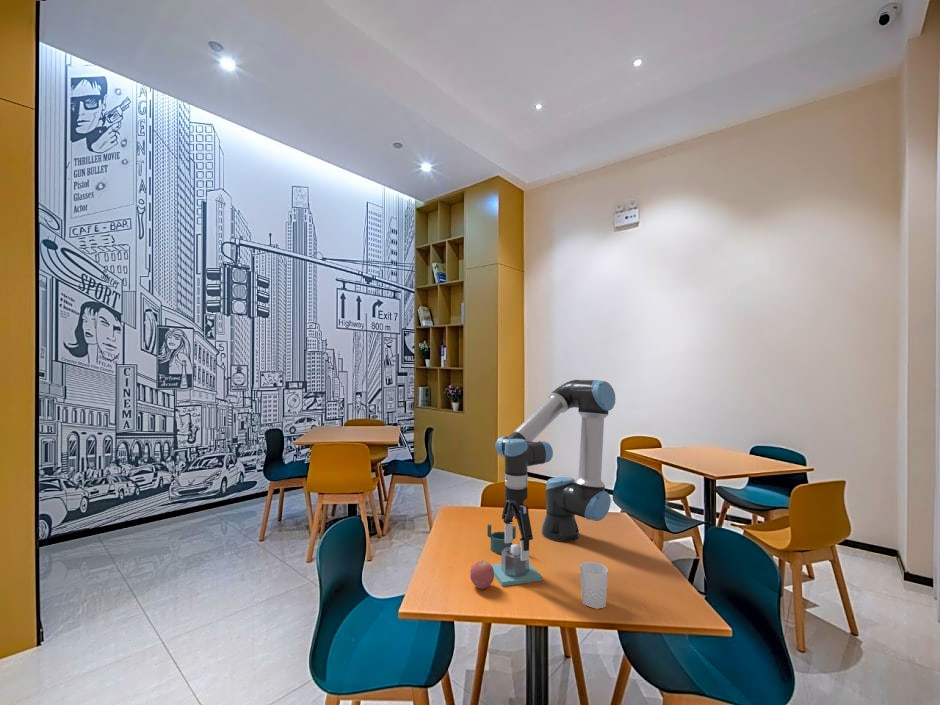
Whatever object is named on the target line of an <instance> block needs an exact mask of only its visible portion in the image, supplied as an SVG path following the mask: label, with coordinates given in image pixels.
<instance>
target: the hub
mask: <svg viewBox="0 0 940 705" xmlns="http://www.w3.org/2000/svg"><path fill="white" fill-rule="evenodd" d="M509 552H511V547H506V548H505V549H504V550H502V554H500V555H501V560H500V561H501V563H500V564H501V570H502V571H503V573H504V574H505V575H508V576H512V577H522V576H526V574H527V573H528V572H529V563H530V559H529V560H524V561H521V547H520V555H518V556H514V555H510V554H509Z"/></svg>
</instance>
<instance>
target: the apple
mask: <svg viewBox="0 0 940 705" xmlns="http://www.w3.org/2000/svg"><path fill="white" fill-rule="evenodd" d="M492 565H493V564H491V563H489V562H488V561H485V560H479V561H476V562H474V563H473V565H471V568H470V572H469V573H470V575H469V576H470V580H471V582H472V584H473V585H474V586H475V587H476V588H478V589H487V588H488V587H490V586H491V584H492V583H493V581H494V579H495V576H494V569H493V567H492Z"/></svg>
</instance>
